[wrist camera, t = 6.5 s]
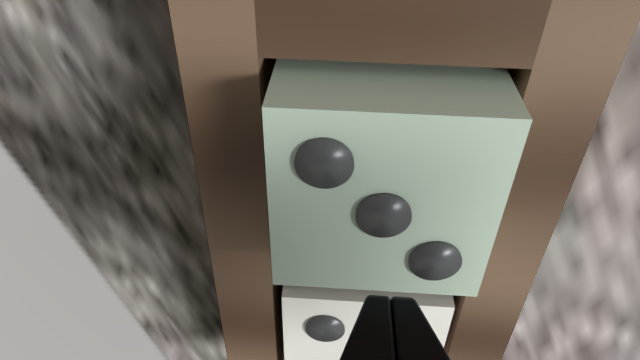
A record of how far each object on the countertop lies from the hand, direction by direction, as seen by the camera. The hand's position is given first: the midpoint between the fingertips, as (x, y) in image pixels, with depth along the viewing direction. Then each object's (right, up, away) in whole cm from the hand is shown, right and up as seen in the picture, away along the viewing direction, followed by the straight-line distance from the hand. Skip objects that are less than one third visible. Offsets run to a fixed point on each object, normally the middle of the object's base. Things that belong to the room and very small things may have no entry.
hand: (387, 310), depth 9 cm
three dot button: (0, +3, +4) cm, 5 cm away
